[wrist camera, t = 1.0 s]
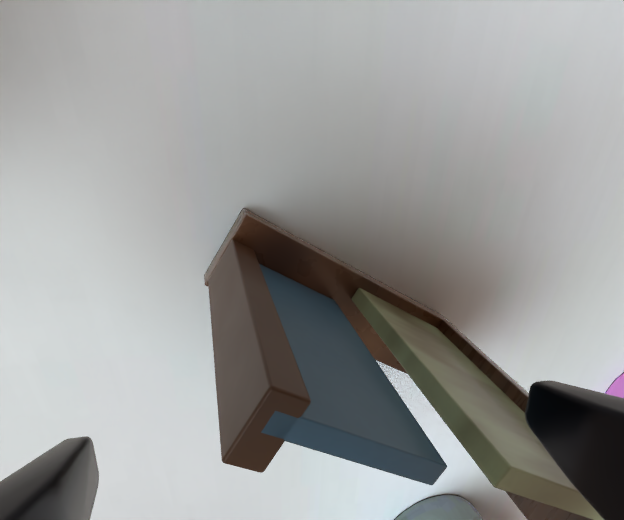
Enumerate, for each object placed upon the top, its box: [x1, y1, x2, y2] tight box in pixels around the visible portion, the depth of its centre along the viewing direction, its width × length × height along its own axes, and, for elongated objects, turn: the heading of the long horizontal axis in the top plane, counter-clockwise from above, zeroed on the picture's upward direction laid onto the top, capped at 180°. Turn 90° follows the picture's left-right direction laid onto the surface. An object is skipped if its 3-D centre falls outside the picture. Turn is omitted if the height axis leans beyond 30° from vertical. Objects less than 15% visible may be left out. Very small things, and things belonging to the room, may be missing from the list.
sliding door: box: [208, 240, 447, 485], centre depth 16 cm, size 6×2×11 cm, turn 57°
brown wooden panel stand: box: [204, 209, 604, 520], centre depth 18 cm, size 14×4×13 cm, turn 57°
